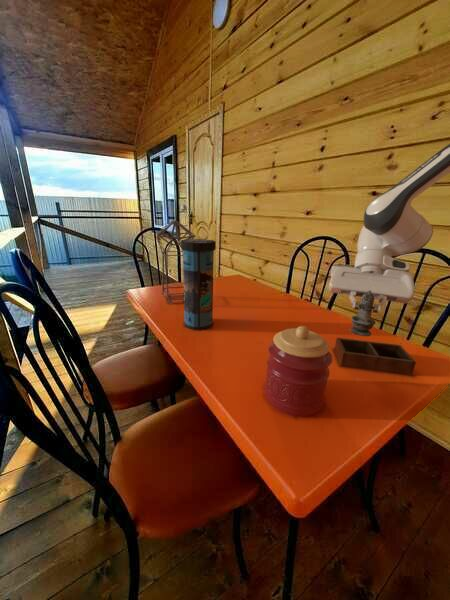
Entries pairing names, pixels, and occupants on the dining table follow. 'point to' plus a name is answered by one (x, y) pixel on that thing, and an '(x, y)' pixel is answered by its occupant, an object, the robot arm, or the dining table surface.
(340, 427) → the dining table surface
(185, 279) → the advertising column
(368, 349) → the holder
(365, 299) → the grey stone statuette
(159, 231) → the geometric lantern
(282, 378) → the kitchen canister
